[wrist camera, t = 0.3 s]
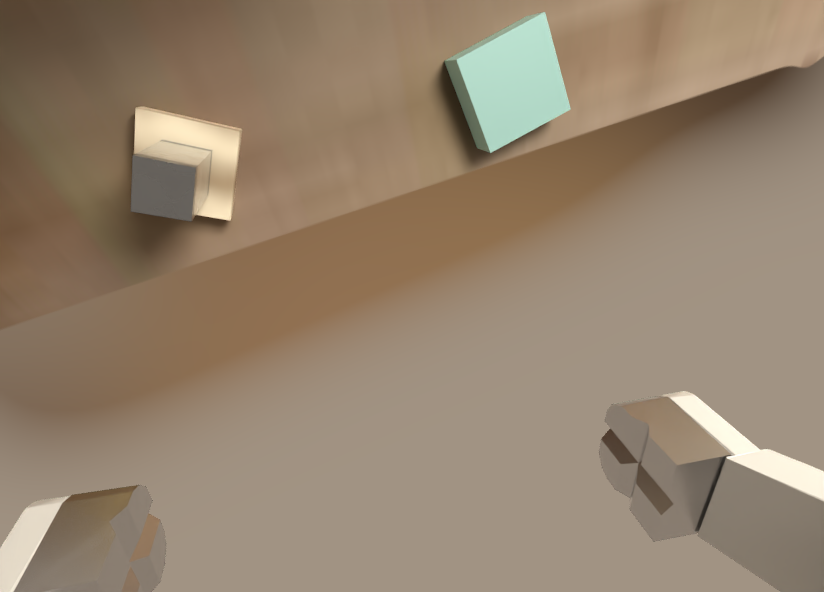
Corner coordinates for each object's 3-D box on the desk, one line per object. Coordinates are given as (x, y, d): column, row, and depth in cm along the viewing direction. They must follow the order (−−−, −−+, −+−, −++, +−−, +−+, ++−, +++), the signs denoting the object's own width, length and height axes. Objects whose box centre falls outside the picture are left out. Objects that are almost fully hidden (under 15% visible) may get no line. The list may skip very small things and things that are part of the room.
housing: (162, 139, 44) (132, 155, 35) (212, 150, 46) (195, 167, 37) (159, 185, 46) (130, 211, 37) (208, 194, 47) (191, 221, 38)
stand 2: (444, 60, 50) (456, 59, 46) (526, 16, 50) (544, 11, 46) (477, 148, 55) (490, 153, 51) (552, 107, 55) (570, 109, 51)
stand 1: (142, 106, 45) (135, 107, 43) (242, 129, 48) (240, 131, 46) (139, 198, 48) (132, 204, 46) (232, 214, 51) (230, 220, 49)
